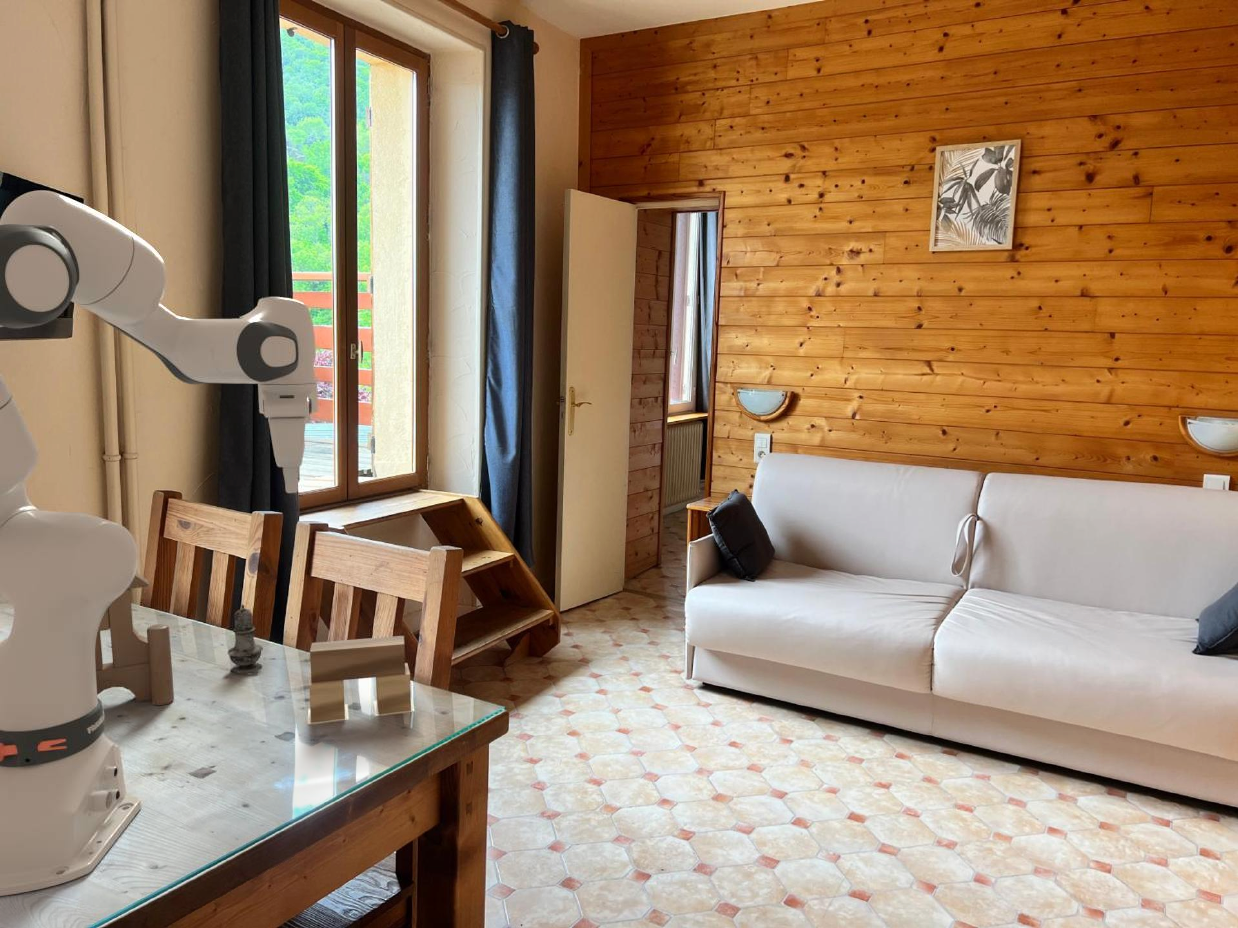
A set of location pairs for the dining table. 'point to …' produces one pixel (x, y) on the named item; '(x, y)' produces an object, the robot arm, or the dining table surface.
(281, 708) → the dining table surface
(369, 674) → the wooden block
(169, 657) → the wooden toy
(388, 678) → the pillar far
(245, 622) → the salt shaker
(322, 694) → the pillar near
